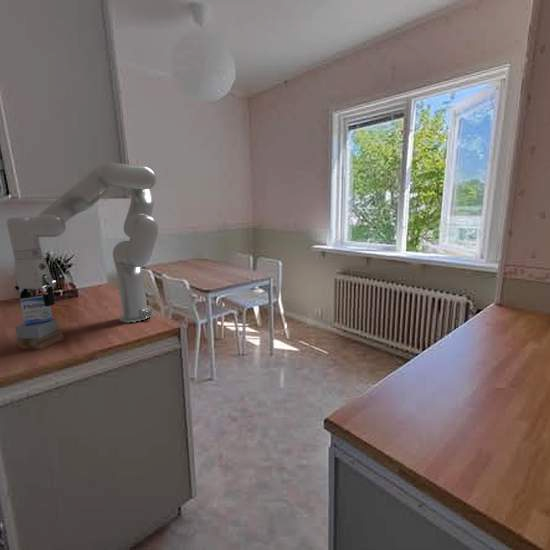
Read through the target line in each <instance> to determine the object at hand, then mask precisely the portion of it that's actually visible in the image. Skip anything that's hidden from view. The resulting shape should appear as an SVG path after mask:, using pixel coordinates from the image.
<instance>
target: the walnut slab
mask: <svg viewBox="0 0 550 550" xmlns="http://www.w3.org/2000/svg"><path fill="white" fill-rule="evenodd" d="M63 333H64V332H63V329H60V328H58V330H57V331H55V332H53V333H50V334H48V335H46V336H44V337H42V338H40V339H25V338H18V337H17V342H18V344H17V345H18V347H20V349H28V348H31V350H39V349H41V350H43V349H45V348H48V347H50V346H52V345H54V344H56V343H58V342H60V341H63V340H64V334H63ZM49 345H50V346H49ZM47 346H48V347H47Z"/></svg>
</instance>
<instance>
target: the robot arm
mask: <svg viewBox="0 0 550 550" xmlns="http://www.w3.org/2000/svg"><path fill="white" fill-rule="evenodd" d="M156 182H157V175H156V174H155V172H154V170H153V169H151V168H150V167H148V166H145V165H138V164H127V163H121V162H119V163H118V162H106V163H102V164H99V165H98V166H96V167H94V168H93V169H92V170H91V171H89V173H87V174H86V175H85V176H84V177H83V178H81V179H80V181H78V182H77V183H76V184H75V185H73V186H72V187H71V188H70V189H68V190H67V191H66V192H65V193H64V194H62V195H61V196H60V197H58V198H56V200H55V201H53V202H52V203H51V204H49V205H48V206H47V207H46V208H45V209H44V210H42V211H41V212H40V213H39V214H37V216H34V217H33V216H15V217H14V216H13V217H9V218H7V220H6V225H7V231H8V235H9V239H10V245H11V249H12V253H13V258H14V271H15V278H14V279H13V280H12V281H11V282H12V284H13V286H14V288H15V290H16V291H17V294H18V295H19V297H20V299H21V298H28V297H32V296H31V291H29V290H40V291H41V293H42V294H43V299H44V304H45V306H46V307H47V306H50V307H51V306H53V305H55V299H54V292H55V290H56V285H57V280H55V279H53V278H52V276H51V275H52V274H51V272H50V268H49V265H48V262H47V261H46V259H45V257H44V256H43V252H42V248H41V243H40V238H56V237H59V236H61V235H62V234H64V232H66V223H67V222H68V221H69V220H70V219H72V218H73V217H75V216H77V215H78V214H81V213H83V212H85V211H87V210H88V209H89V210H90V208H91V207H93V206H94V205H95V204H96V203H97V202H98V201H99V200H100V199H101V198H103V197H104V196H105V195H106V194H107V193H109V192H110V190H112V189H113V188H123V189H127V190H128V192H129V194H130V204H129V207H128V211H127V214H126V216H125V219H124V223H123V232H124V234H125V235H126V237H128V238H129V240H123V241H122V240H121V241H120V242H117V243H116V244H115V246H114V247H113V250H112V258H113V262H114V266H115V270H116V275H117V283H118V290H119V297H120V305H121V313H122V314H121V315H120V316H119V317H118V321H119V322H121V323H124V324H127V323H129V324H131V323H130V322H133V323H137V322H136V321H139V322H142V321H141V320H144V321H146V320H145V319H147V318H149V317H150V318H151V316H152V317H153V316H154V315H155V313H156V310H155V309H150V305H147V304H148V303H147V297H146V296H147V295H146V294H147V293H146V288H145V278H144V270H143V267H144V266H145V265H146V264H148V262H150V259H151V256H152V254H153V250H154V247H155V244H156V241H157V237H158V234H159V226H158V223H157V221H156V220H155V218H154V217H153V216H152V214H153V209H154V201H155V200H154V195H153V193H152V190H151V189H152V188H153V187H154V186H155V184H156ZM150 318H149V319H150ZM147 320H148V319H147Z"/></svg>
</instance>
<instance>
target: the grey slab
mask: <svg viewBox="0 0 550 550" xmlns="http://www.w3.org/2000/svg"><path fill="white" fill-rule="evenodd" d="M58 329H59V328H58V323H57V319H56V318H52V321H48V322H43V323H38V324H32V325H27V326H26V325H24V323H22V324H19V325H17V326H15V331H16V336H17V338H25V339H40V338H42V337H44V336H46V335H48V334H50V333H53V332H55V331H57V330H58Z"/></svg>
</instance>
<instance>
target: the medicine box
mask: <svg viewBox="0 0 550 550" xmlns="http://www.w3.org/2000/svg"><path fill="white" fill-rule="evenodd" d="M43 295H44V294H43ZM43 295H37V296H31V297H28V298H21V297H20V301H19V305H20V309H21V313H22V319H23V324H24V325H26V326H27V325H32V324H38V323H43V322H48V321H52V319H53V313H52V308H51V305H50V306H47V307H46V306H45V304H44V299H43Z"/></svg>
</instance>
